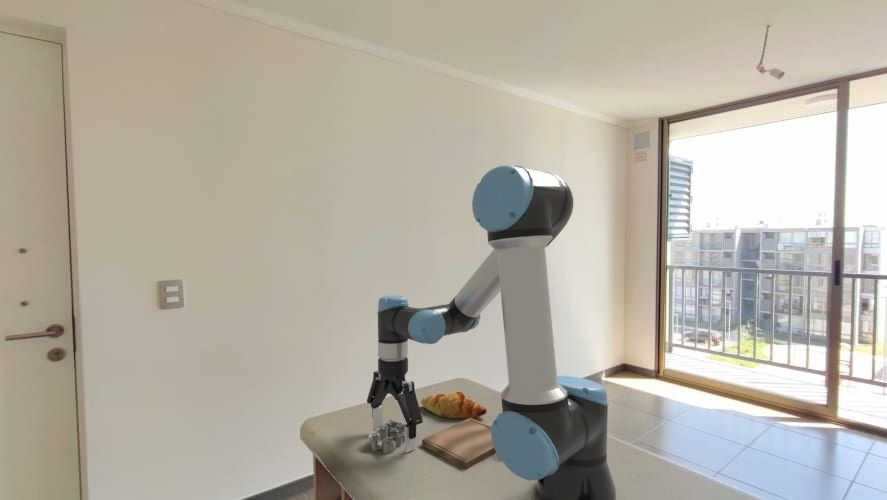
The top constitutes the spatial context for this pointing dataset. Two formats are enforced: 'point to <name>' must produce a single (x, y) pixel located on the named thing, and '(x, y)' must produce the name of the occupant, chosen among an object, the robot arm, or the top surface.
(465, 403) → the croissant
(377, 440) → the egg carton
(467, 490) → the top surface
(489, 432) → the walnut board
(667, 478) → the top surface
